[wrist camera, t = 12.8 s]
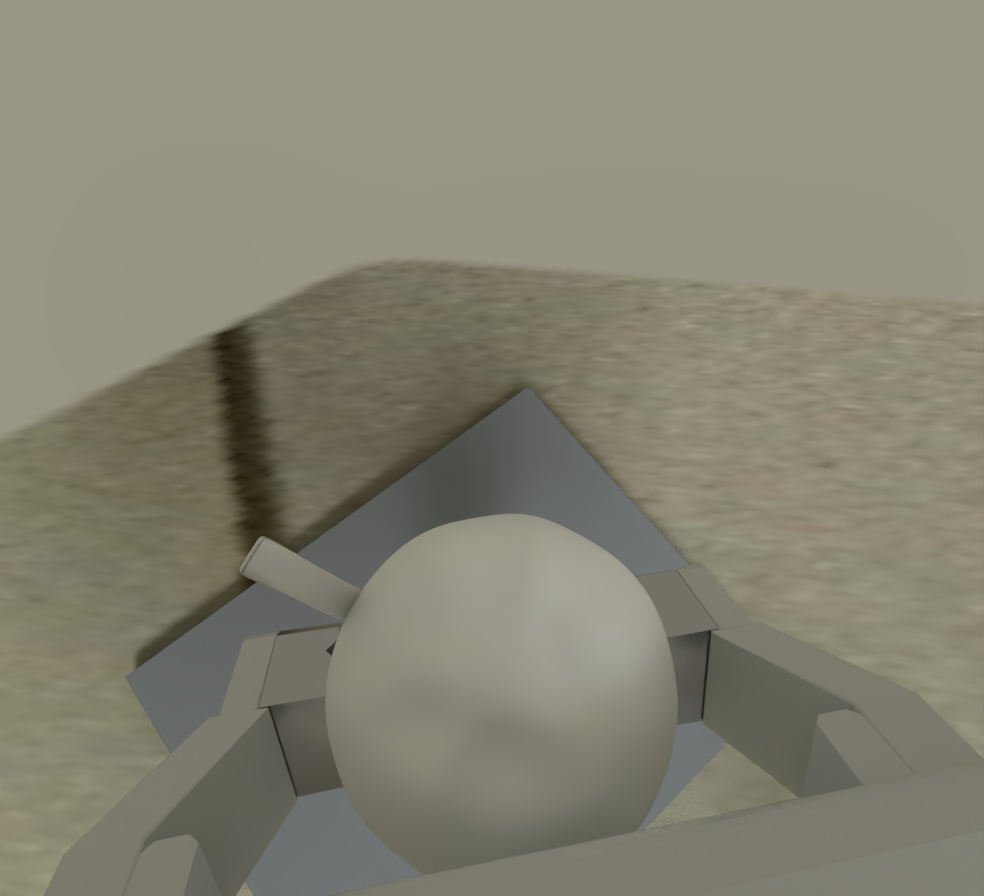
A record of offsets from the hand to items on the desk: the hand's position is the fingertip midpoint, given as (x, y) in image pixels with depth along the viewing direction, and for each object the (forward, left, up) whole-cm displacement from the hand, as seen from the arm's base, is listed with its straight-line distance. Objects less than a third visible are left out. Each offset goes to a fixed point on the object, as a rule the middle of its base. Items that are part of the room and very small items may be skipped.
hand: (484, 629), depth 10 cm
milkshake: (0, -1, -6) cm, 6 cm away
